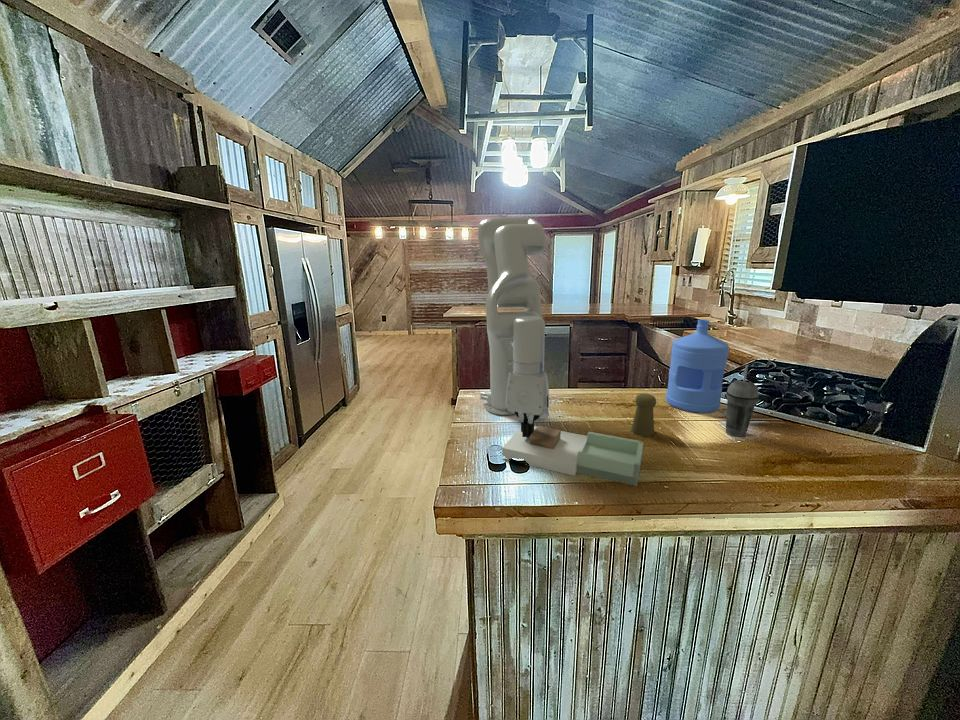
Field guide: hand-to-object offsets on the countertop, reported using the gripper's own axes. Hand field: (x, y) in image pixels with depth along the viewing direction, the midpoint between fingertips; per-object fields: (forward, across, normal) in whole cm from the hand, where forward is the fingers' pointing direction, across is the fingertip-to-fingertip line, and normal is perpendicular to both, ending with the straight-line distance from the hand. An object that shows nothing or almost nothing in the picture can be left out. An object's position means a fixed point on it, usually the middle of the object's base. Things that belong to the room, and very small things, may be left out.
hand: (527, 435), depth 97 cm
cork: (+4, +26, +23) cm, 35 cm away
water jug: (+4, +39, +51) cm, 64 cm away
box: (+4, +21, 0) cm, 21 cm away
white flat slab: (+4, +5, 0) cm, 6 cm away
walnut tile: (+1, +5, 0) cm, 5 cm away
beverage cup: (+4, +49, +32) cm, 59 cm away
